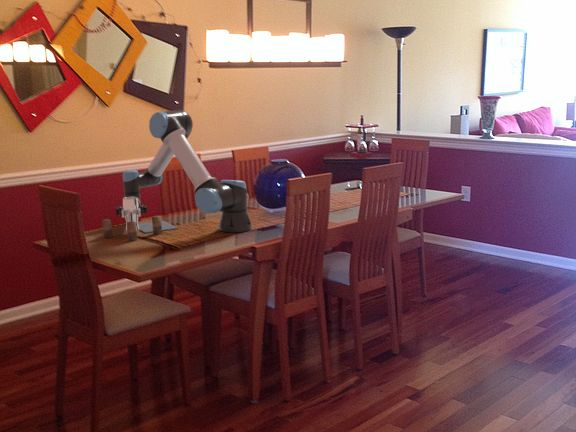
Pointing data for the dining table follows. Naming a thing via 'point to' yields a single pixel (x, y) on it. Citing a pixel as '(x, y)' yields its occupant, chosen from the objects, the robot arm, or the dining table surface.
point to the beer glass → (131, 210)
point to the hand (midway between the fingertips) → (131, 214)
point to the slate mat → (149, 227)
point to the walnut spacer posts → (131, 228)
